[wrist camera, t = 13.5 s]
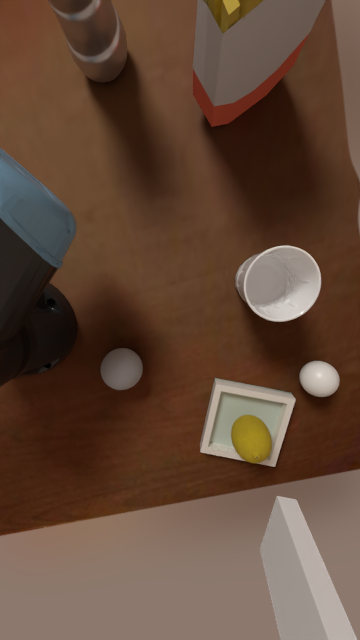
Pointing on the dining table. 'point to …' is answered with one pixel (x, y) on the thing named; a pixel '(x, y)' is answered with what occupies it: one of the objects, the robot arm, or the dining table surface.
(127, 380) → the grey rubber ball
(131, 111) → the dining table surface
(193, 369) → the dining table surface
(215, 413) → the square dish
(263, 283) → the white cup
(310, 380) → the white plastic ball
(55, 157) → the dining table surface
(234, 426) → the lemon
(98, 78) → the plastic bottle
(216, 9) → the french fries container
